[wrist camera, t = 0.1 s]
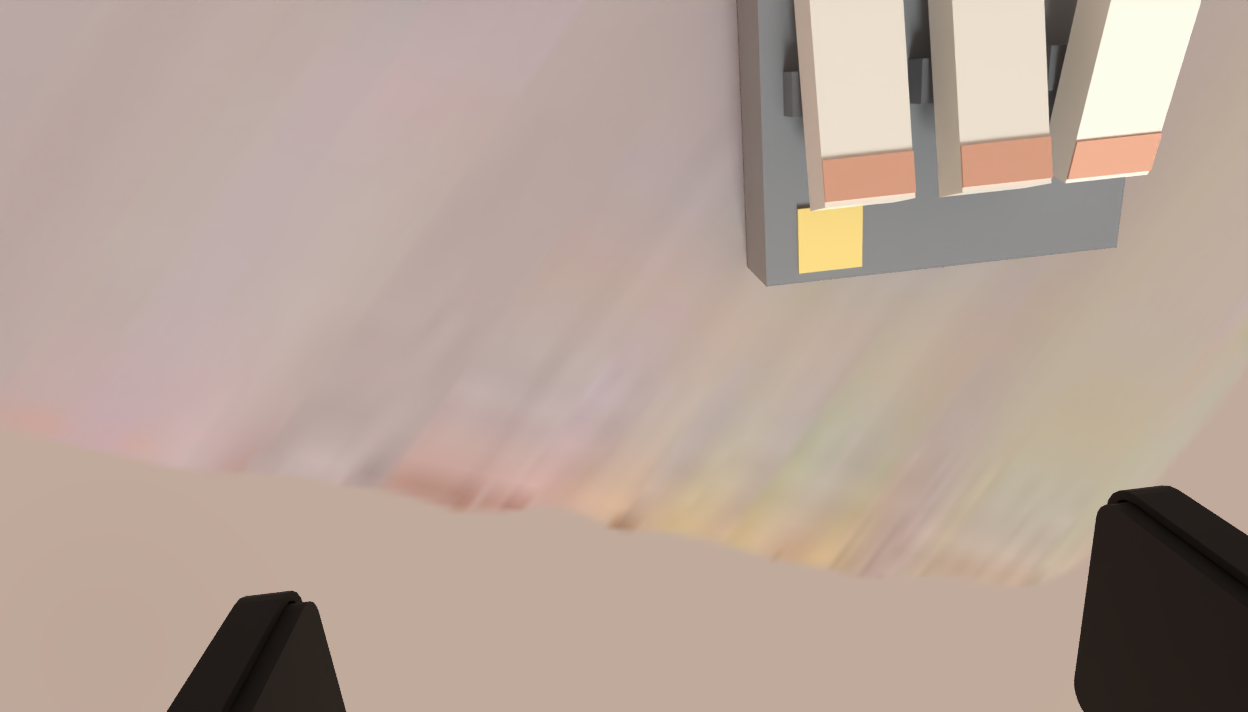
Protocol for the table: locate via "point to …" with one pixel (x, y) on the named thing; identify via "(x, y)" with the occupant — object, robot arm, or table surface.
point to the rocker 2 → (990, 95)
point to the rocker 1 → (855, 102)
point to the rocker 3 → (1117, 86)
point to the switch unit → (928, 224)
